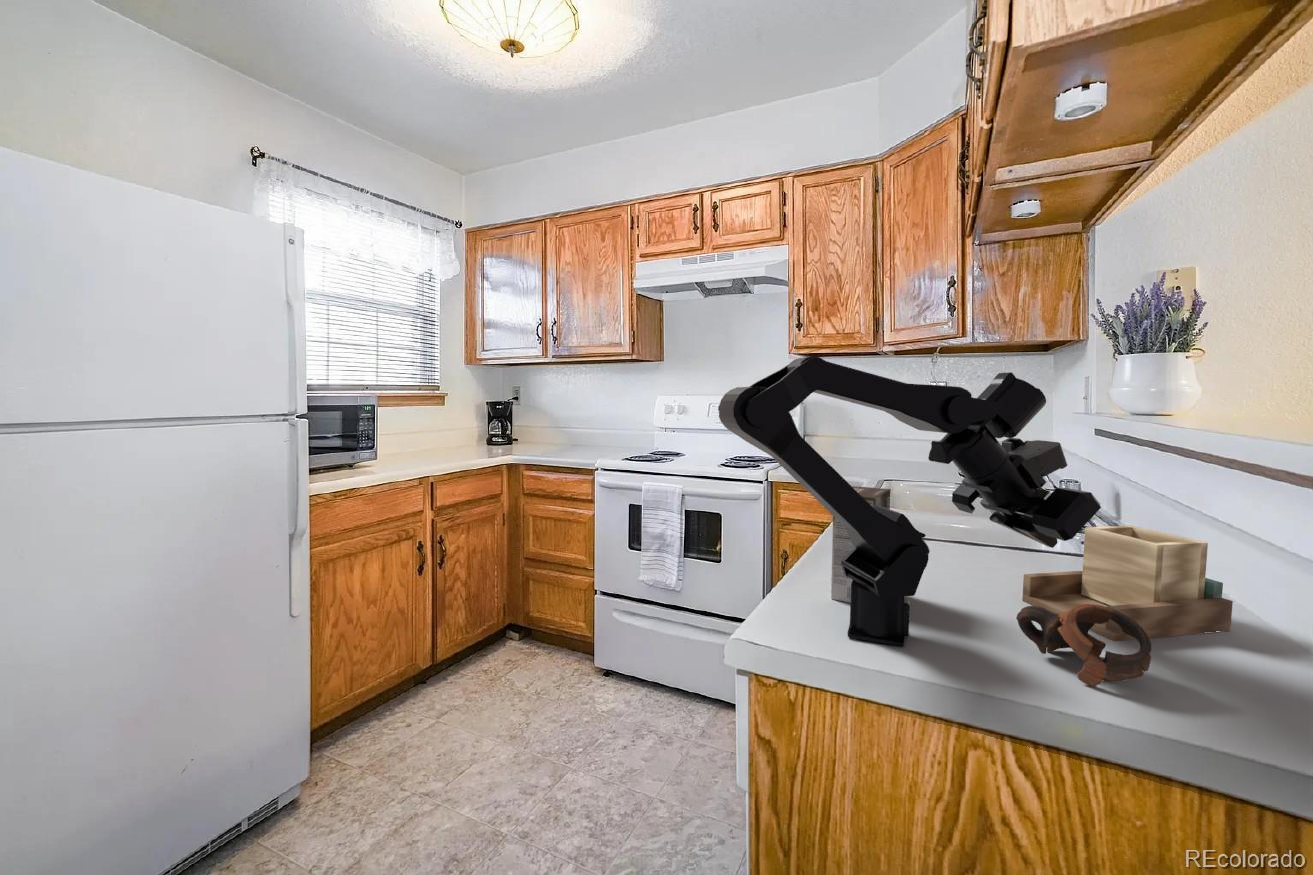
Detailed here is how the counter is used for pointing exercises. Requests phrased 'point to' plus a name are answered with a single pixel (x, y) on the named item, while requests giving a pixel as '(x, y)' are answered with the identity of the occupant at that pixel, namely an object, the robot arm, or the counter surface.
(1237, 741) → the counter surface
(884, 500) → the coffee box
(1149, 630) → the bay
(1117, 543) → the crate
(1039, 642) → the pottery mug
